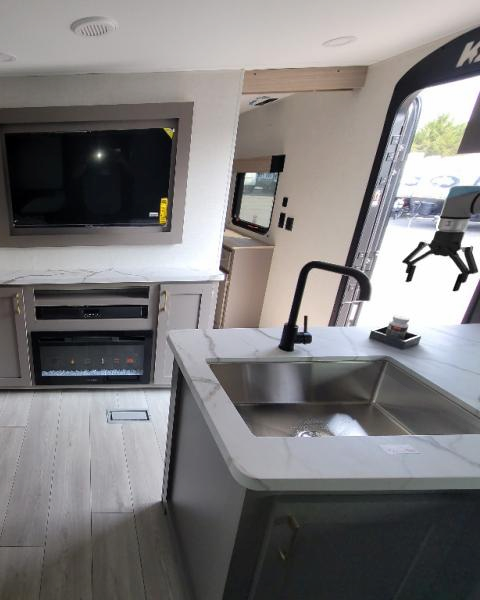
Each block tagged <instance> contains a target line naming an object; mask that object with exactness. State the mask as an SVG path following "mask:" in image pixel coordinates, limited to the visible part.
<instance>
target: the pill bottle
mask: <svg viewBox="0 0 480 600" xmlns="http://www.w3.org/2000/svg"><path fill="white" fill-rule="evenodd" d="M409 322H410V318H409V317H408V316H403V315H399V314H398V315H397V314H396V315H393V316H392V320H390V321H389V323H388V324H387V325H388V328H387V331H386V335H389V336H392V337H394V338H397V339H400V340H404V337H405V334H406V332H408V329H409Z"/></svg>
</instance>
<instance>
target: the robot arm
mask: <svg viewBox="0 0 480 600" xmlns="http://www.w3.org/2000/svg"><path fill="white" fill-rule="evenodd" d="M472 216H480V185H454V186H451V187H450V188H449V189H448V192H447V194H446V197H445V198H444V203H443V205H442V209H441V213H440V216H439V217H438V221H437V224H436V227H435V229H436V230H435V231H433V235H432V238H431V241H430V242H428V241H426V240H423V241H419V242H418V245H417V246H416V248H414V249H413V250H412V251H411V252H410V253H409V254H408V255H407V256H406V257H405V258H404V259H403V260H402V261H401V263H402V264H405V265H406V268H405V274H407V275H406V279H405V283H411V282H412V280H413V277H414V274H415V271H416V268H417V265H416V264H418V263H420V262H421V261H423V260H424V259H426V258H428V257H430V256H432V255H434V256H442V257H444V258H445V257H449V258H450V259H451V260H452V261H453V263H454V264H455V266H456V267H457V268H458V270H459V271H460V273H458V274H457V277H456V280H455V282H454V285H453V288H452V292H459V291H460V288H461V287H462V286H461V285H462V284H464V283H466V282H467V280H468V278H469V275H475V274H478V273H479V269H478V265H477V262H476V259H475V257H474V253H473V250H474V246H473V245H468V246H464V245H462V242H463V240H464V238H465V237H464V236H465V234H466V233H465V231H466V230H467V228H468V226H469V223H470V220H471V217H472ZM427 247H428V248H429V250H428V251H426V252H424V253H423V254H420V255H419V256H417V255H418V254H419V253H420V252H421V251H422V250H424V248H427ZM460 250H461V251H462V253H463V255H464V258H465V261H466V263H465V262H464V261H463V260H462V258H461V257H460V255H459V253H458V252H459V251H460ZM416 256H417V257H416ZM415 257H416V258H415ZM466 264H467V265H466Z"/></svg>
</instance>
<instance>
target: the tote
mask: <svg viewBox="0 0 480 600" xmlns="http://www.w3.org/2000/svg"><path fill="white" fill-rule="evenodd" d="M388 325H389V324H387V325H383V326H380V327H377V328H374V329H371V330H370V332H369V336H368V338H369V339H370V340H374V341H377V342H379V343H381V344H385V345H388V346H390V347H394V348H396V349H399V350H400V351H401V350H403V351H404V350H406V349H408V348H412V347H414V346H417V345H418V344H420V341H421V338H422V335H420V334H418V333H417V334H416V333H414V332H410V331H407V332H406V334H405V337H404V340H400V339H397V338H394V337H392V336H389V335H386V331H387V328H388Z"/></svg>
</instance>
